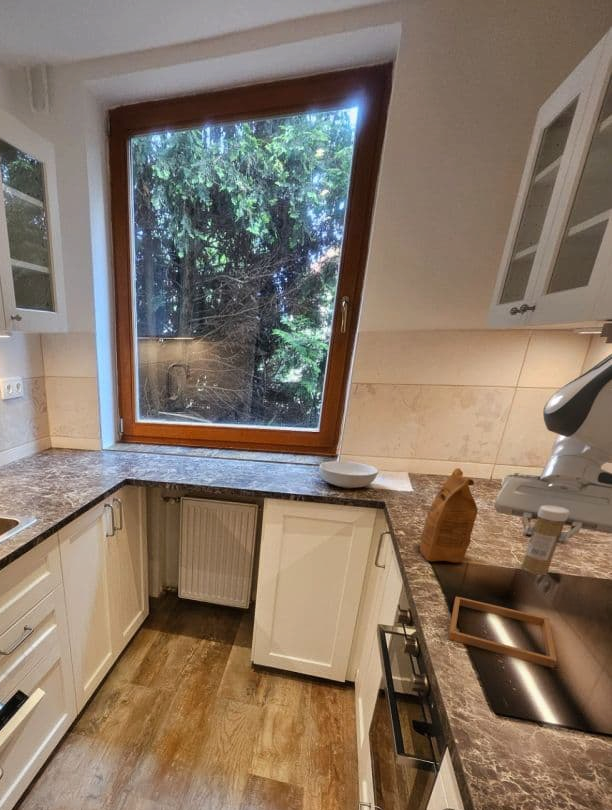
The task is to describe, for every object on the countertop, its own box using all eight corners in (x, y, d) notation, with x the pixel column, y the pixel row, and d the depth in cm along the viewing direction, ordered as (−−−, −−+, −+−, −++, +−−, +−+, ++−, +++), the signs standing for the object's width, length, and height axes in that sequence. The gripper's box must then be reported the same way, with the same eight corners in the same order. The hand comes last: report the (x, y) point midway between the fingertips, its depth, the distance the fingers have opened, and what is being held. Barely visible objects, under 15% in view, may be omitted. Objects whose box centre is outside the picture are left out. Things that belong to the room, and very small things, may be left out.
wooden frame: (544, 629, 91) (549, 618, 90) (551, 673, 80) (556, 660, 78) (452, 606, 99) (455, 596, 98) (446, 643, 87) (450, 632, 86)
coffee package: (456, 548, 126) (479, 468, 117) (466, 567, 116) (492, 481, 107) (415, 543, 129) (434, 464, 120) (421, 562, 119) (442, 477, 110)
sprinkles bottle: (552, 572, 95) (575, 509, 89) (538, 577, 93) (561, 513, 88) (528, 564, 99) (549, 503, 93) (514, 568, 97) (535, 506, 91)
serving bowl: (368, 496, 168) (372, 477, 165) (310, 487, 178) (312, 469, 175) (379, 482, 183) (383, 465, 181) (325, 474, 194) (328, 458, 191)
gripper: (507, 463, 99) (483, 519, 97) (639, 481, 86) (616, 545, 84) (505, 480, 104) (483, 533, 101) (630, 498, 91) (608, 560, 89)
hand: (544, 539), depth 93 cm, fingers closed on sprinkles bottle, 4 cm apart
